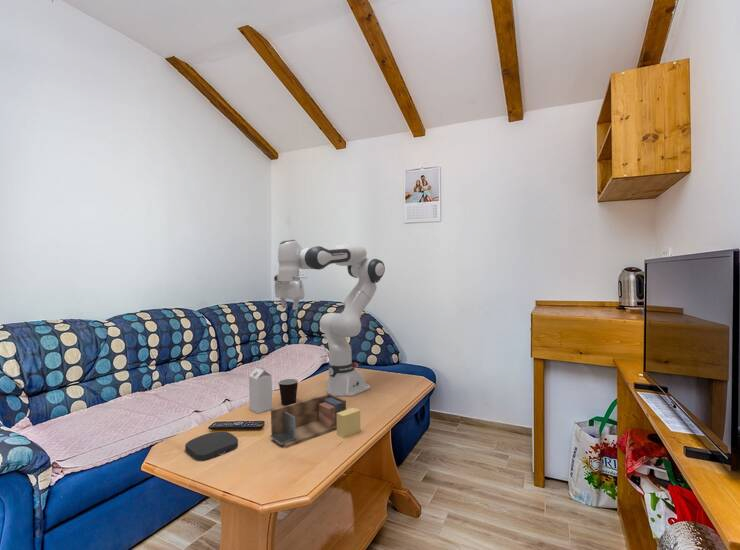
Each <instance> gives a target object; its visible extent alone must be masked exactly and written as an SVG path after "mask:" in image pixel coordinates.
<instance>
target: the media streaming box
mask: <svg viewBox="0 0 740 550" xmlns="http://www.w3.org/2000/svg"><path fill="white" fill-rule="evenodd" d="M238 446H239V439H238V437H237V436H235V435H234V434H233V433H231V432H228V431H213V432H209V433H205V434H202V435H200V436H197V437H195V438H192V439H190V440H188V441H187V442H186V443H185V445H184V448H185V452H186V454H187V455H188V456H190V457H191V458H193V459H194V460H196V461H197V462H198V461H200V462H202V461H203V462H204V461H208V460H212V459H214V458H217V457H220V456H222V455H224V454H227V453H229V452H232V451H235V450H236V449H238Z"/></svg>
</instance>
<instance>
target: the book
mask: <svg viewBox="0 0 740 550" xmlns="http://www.w3.org/2000/svg"><path fill="white" fill-rule="evenodd" d="M359 431H360V432H361V410H360V409H358V408H356V407H351V408H348V409H347V408H346V410H344V411H341V412H338V413H337V429H336V435H337V436H339V437H341V438H343V439H345V438H347V437H350V436H352V434H353V435H355V434H357V432H358V433H359ZM354 433H355V434H354ZM349 435H350V436H349ZM344 437H345V438H344Z"/></svg>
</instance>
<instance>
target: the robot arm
mask: <svg viewBox="0 0 740 550" xmlns="http://www.w3.org/2000/svg"><path fill="white" fill-rule="evenodd" d="M277 251H278V252H277V261H278V270H277V271H278V273H277V274H276V275H274V276H273V281H274V294H275V297H276V298H279V299H280V303H281V308H282V309H287V308H288V304H287V299H288V300H292V302H293V304H292V305H291V306H292V308H291V309H292V310H293V311H294V310H295V311H297V310H298V309H299V308H298V306H299V303H300V300H304V299H305V288H304V282H303V280H302V279H301V277H300V270H319V271H320V270H323V269H325V268H326V267H328V266H329V265H332V264H335V265H336V266H342V267H346V266H347V267H346V268H347V273H348V275H349V276H350V277H351V278H354V279H358V281H357V283H356V285H355V286H354V287H353V288H352V290H351V291H350V292H349V293H348V295H347V296H346V297H345V299H344V301H343V305H344V307H343V308H344V309H343V310H342V312H340V313H338V312H328V313H324V314H323V315H322V316H321V318H320V320H319V327H320V329H321V330H322V331H323V334H324V335H325V339H326V341H327V345H328V353H329V354H328V355H329V357H328V358H329V360H328V361H329V363H328V375H329V376H328V384H327V388H326V394H332V395H334V396H337V397H342V396H348V397H353V396H356V395H358V394H360V393H362V392H365V391H367V390H369V389H371V386H370V385H369V383H366V378H365V376H364V375H363V374H362V373H361V372H360V371H358V370H357V369H355V368H358V367H359V363H358V362H352V359H353V358H352V346H351V344H350V343H349V342H348V340H347V338H351V337H352V338H353V337H357V335H359V334H360V332H361V329H362V322H361V317H362V314H363V313H364V310H365V309H366V308H367V306H368V304H369V303H370V302H371V301H372V299H373V297H374V295H375V293H376V291H377V283H379V282H380V280H381V279H382V277H383V276H384V274H385V272H386V271H385V270H386V267H385V263H384V262H383V261H382V260H380V259H377V258H371V257H370V258H369V257H367V250H366V248H365V247H364V246H363V245H361V244H357V243H342V244H338V245H336V246H334V247H333V249H328V248H325V247H323V246H320V245H317V246H313V247H306V246H303V245H302V244H300V243H299V242H298V241H297V240H296V239H290V240H283V241H281V242H279V245H278V249H277Z"/></svg>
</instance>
